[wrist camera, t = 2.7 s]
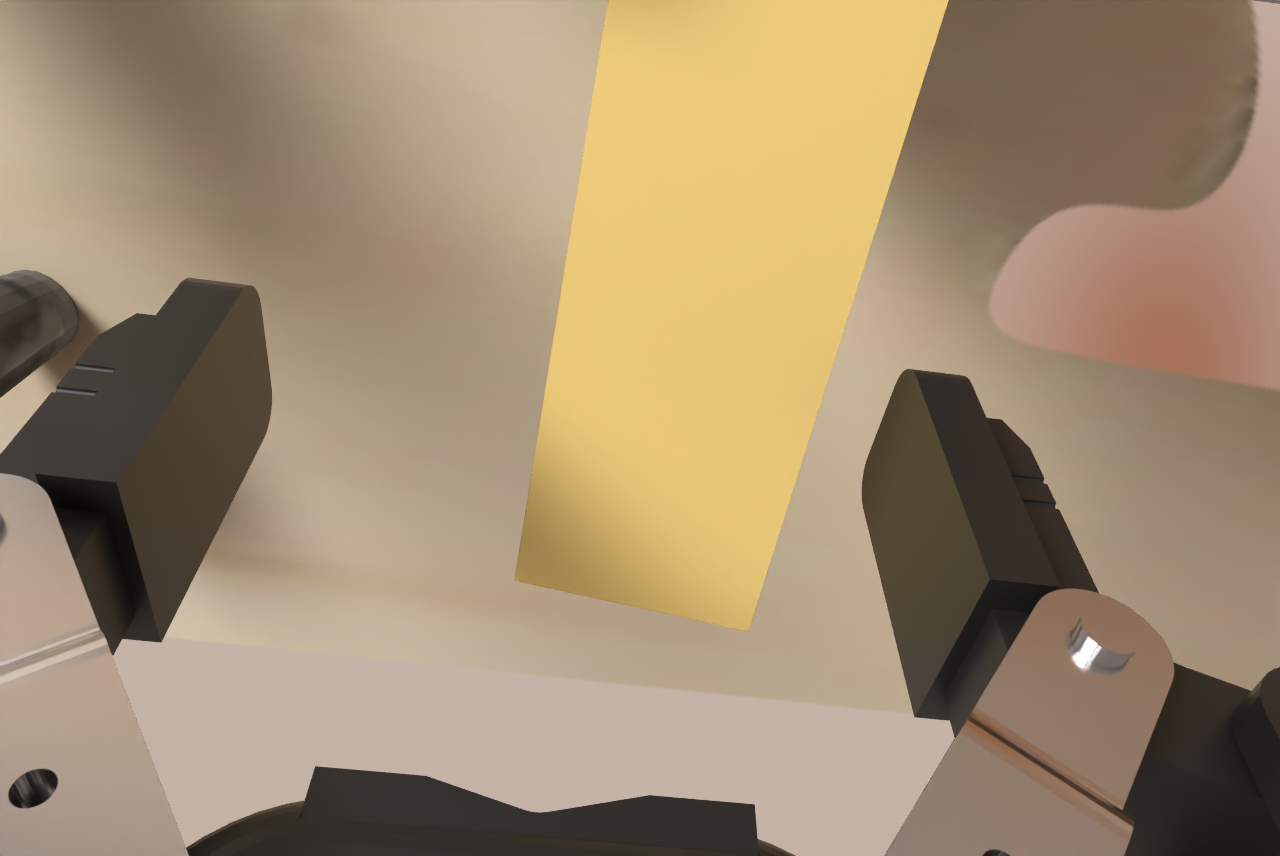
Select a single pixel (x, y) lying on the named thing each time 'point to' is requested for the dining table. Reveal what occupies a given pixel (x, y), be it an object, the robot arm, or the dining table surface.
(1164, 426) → the dining table surface
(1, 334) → the beverage cup
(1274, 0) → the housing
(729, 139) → the bar
